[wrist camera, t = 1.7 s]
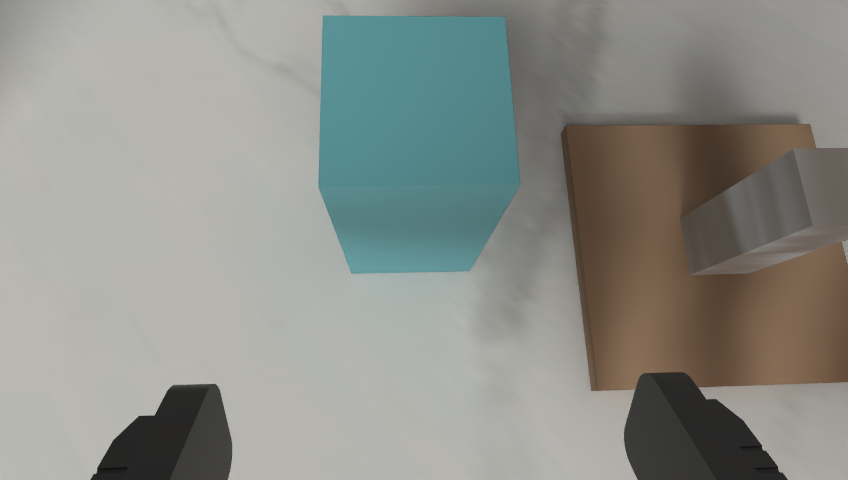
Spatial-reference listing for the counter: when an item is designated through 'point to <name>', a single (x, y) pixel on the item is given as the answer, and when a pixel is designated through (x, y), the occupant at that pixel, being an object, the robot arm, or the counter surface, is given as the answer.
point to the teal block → (416, 139)
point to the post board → (655, 274)
